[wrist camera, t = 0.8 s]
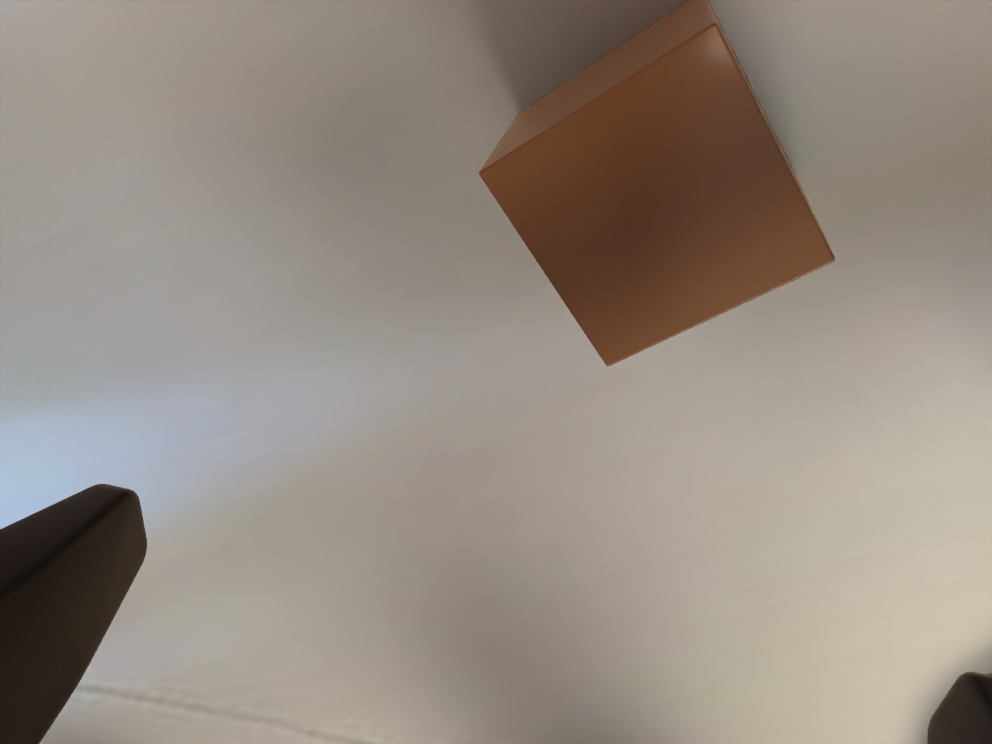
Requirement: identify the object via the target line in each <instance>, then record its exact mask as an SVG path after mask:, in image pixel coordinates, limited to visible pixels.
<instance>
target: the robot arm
mask: <svg viewBox="0 0 992 744" xmlns="http://www.w3.org/2000/svg"><path fill="white" fill-rule="evenodd" d="M146 550H147V538H146V533H145V528H144V522H143V517H142V511H141V506H140V501H139V497H138V496H137V494H136V493H135V492H134V491H132V490H130V489H126V488H121V487H117V486H112V485H107V484H98V485H95V486H92V487H90V488H87V489H85V490H83V491H81V492H79V493H77V494H75V495H73V496H70V497H68V498H66V499H64V500H62V501H60V502H58V503H56V504H53V505H51V506H49V507H47V508H45V509H43V510H41V511H39V512H36V513H34V514H32V515H30V516H28V517H26V518H24V519H22V520H19V521H17V522H15V523H13V524H11V525H9V526H7V527H5V528H3V529H0V744H39V743H40V742H41V740H42V739H43V737H44V736H45V734H46V733H47V731H48V730H49V728H50V727H51V725H52V723H53V722H54V720H55V719H56V717H57V716H58V714H59V713H60V711H61V710H62V708H63V707H64V705H65V704H66V702H67V701H68V699H69V698H70V696H71V694H72V693H73V691H74V690H75V688H76V687H77V685H78V683H79V682H80V680H81V678H82V676H83V674H84V673H85V671H86V669H87V667H88V666H89V664H90V662H91V660H92V658H93V656H94V654H95V652H96V651H97V649H98V647H99V645H100V643H101V641H102V639H103V637H104V635H105V633H106V632H107V630H108V628H109V626H110V624H111V622H112V620H113V618H114V616H115V614H116V613H117V611H118V609H119V607H120V605H121V603H122V601H123V599H124V597H125V596H126V594H127V592H128V590H129V588H130V586H131V584H132V582H133V580H134V578H135V577H136V575H137V573H138V571H139V569H140V567H141V565H142V563H143V561H144V558H145V555H146ZM928 744H992V676H989V675H984V674H979V673H975V672H967V673H965V674H963V675H961V676H960V677H959V678H958V679H957V680H956V682H955V683H954V685H953V686H952V688H951V689H950V691H949V692H948V694H947V695H946V697H945V698H944V700H943V701H942V702H941V704H940V705H939V707H938V708H937V710H936V711H935V713H934V714H933V716H932V718H931V720H930V723H929V728H928Z"/></svg>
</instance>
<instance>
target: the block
mask: <svg viewBox="0 0 992 744" xmlns="http://www.w3.org/2000/svg"><path fill="white" fill-rule="evenodd" d="M479 175H480V176H481V178H482V179H483V181H484V182H485V184H486V185H487V187H488V188H489V190H490V191H491V193H492V194H493V196H494V197H495V199H496V200H497V202H498V203H499V205H500V206H501V208H502V209H503V211H504V212H505V214H506V215H507V217H508V218H509V220H510V222H511V223H512V225H513V226H514V228H515V229H516V231H517V232H518V234H519V235H520V237H521V238H522V240H523V241H524V243H525V244H526V246H527V247H528V249H529V250H530V252H531V253H532V255H533V256H534V258H535V259H536V261H537V262H538V264H539V265H540V267H541V268H542V270H543V271H544V273H545V274H546V276H547V277H548V279H549V280H550V282H551V283H552V285H553V286H554V288H555V289H556V291H557V292H558V294H559V295H560V297H561V298H562V300H563V301H564V303H565V304H566V306H567V307H568V309H569V310H570V312H571V313H572V315H573V316H574V318H575V319H576V321H577V322H578V324H579V325H580V327H581V328H582V330H583V331H584V333H585V334H586V336H587V337H588V339H589V340H590V342H591V343H592V345H593V346H594V348H595V349H596V351H597V352H598V354H599V355H600V357H601V358H602V360H603V361H604V363H605V364H606V366H610V365H612V364H614V363H617V362H619V361H621V360H623V359H625V358H627V357H629V356H632V355H634V354H636V353H638V352H640V351H642V350H645V349H647V348H649V347H651V346H653V345H655V344H657V343H660V342H662V341H664V340H666V339H668V338H670V337H673V336H675V335H677V334H679V333H681V332H683V331H685V330H688V329H690V328H692V327H694V326H696V325H698V324H700V323H703V322H705V321H707V320H709V319H711V318H713V317H716V316H718V315H720V314H722V313H724V312H726V311H728V310H731V309H733V308H735V307H737V306H739V305H741V304H743V303H746V302H748V301H750V300H752V299H754V298H756V297H759V296H761V295H763V294H765V293H767V292H769V291H771V290H774V289H776V288H778V287H780V286H782V285H784V284H787V283H789V282H791V281H793V280H795V279H797V278H799V277H802V276H804V275H806V274H808V273H810V272H812V271H814V270H817V269H819V268H821V267H823V266H825V265H827V264H830V263H832V262H833V261H835V257H834V255H833V253H832V251H831V249H830V247H829V245H828V242H827V240H826V238H825V236H824V234H823V232H822V230H821V228H820V226H819V223H818V221H817V219H816V217H815V215H814V213H813V211H812V209H811V206H810V204H809V202H808V200H807V198H806V196H805V194H804V192H803V190H802V187H801V185H800V183H799V181H798V179H797V177H796V175H795V173H794V171H793V169H792V167H791V165H790V163H789V161H788V159H787V157H786V155H785V153H784V151H783V149H782V147H781V145H780V143H779V141H778V139H777V137H776V135H775V133H774V131H773V129H772V127H771V125H770V123H769V121H768V119H767V117H766V115H765V113H764V111H763V109H762V107H761V105H760V103H759V101H758V99H757V97H756V95H755V93H754V91H753V89H752V87H751V85H750V83H749V81H748V79H747V77H746V75H745V73H744V71H743V69H742V67H741V65H740V63H739V61H738V59H737V57H736V55H735V53H734V51H733V49H732V47H731V45H730V43H729V41H728V39H727V37H726V35H725V33H724V31H723V29H722V27H721V25H720V23H719V21H718V19H717V17H716V15H715V13H714V11H713V9H712V7H711V5H710V3H709V1H708V0H690V1H688V2H687V3H685V4H684V5H682V6H681V7H679V8H678V9H676V10H675V11H673V12H672V13H670V14H668V15H667V16H665V17H664V18H662V19H661V20H659V21H658V22H656V23H655V24H653V25H652V26H650V27H649V28H647V29H646V30H644V31H643V32H641V33H640V34H638V35H637V36H635V37H634V38H632V39H631V40H629V41H628V42H626V43H624V44H623V45H621V46H620V47H618V48H617V49H615V50H614V51H612V52H611V53H609V54H608V55H606V56H605V57H603V58H602V59H600V60H599V61H597V62H596V63H594V64H593V65H591V66H590V67H588V68H587V69H585V70H584V71H582V72H581V73H579V74H577V75H576V76H574V77H573V78H571V79H570V80H568V81H567V82H565V83H564V84H562V85H561V86H559V87H558V88H556V89H555V90H553V91H552V92H550V93H549V94H547V95H546V96H544V97H543V98H541V99H540V100H538V101H537V102H535V103H533V104H532V105H530V106H529V107H527V108H526V109H524V110H523V111H521V112H520V113H519V114H518V116H517V117H516V119H515V120H514V122H513V123H512V125H511V126H510V128H509V129H508V130H507V132H506V133H505V135H504V136H503V138H502V139H501V141H500V142H499V144H498V145H497V147H496V148H495V150H494V151H493V153H492V154H491V156H490V157H489V159H488V160H487V162H486V163H485V165H484V166H483V168H482V169H481V171H480V172H479Z"/></svg>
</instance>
